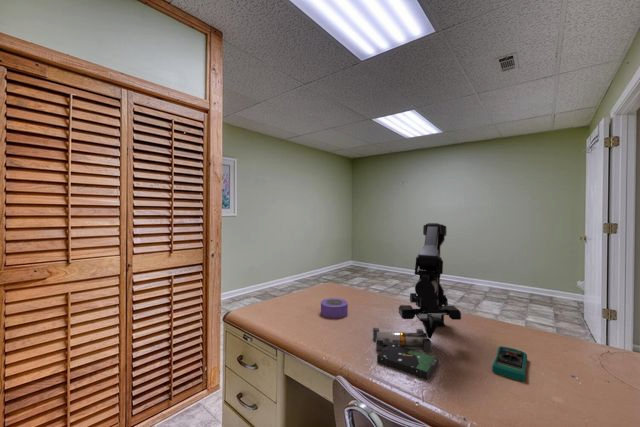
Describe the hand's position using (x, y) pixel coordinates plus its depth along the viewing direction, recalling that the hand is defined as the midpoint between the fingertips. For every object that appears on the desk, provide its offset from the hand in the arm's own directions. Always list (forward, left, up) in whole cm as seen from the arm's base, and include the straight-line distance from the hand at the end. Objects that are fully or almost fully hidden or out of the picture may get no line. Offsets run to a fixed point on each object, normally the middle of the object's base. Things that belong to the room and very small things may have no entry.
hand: (429, 337), depth 93 cm
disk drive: (+10, +11, -3) cm, 15 cm away
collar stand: (+9, 0, -3) cm, 10 cm away
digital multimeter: (-19, +11, -3) cm, 23 cm away
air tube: (+9, 0, -3) cm, 9 cm away
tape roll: (+32, -28, -3) cm, 43 cm away
